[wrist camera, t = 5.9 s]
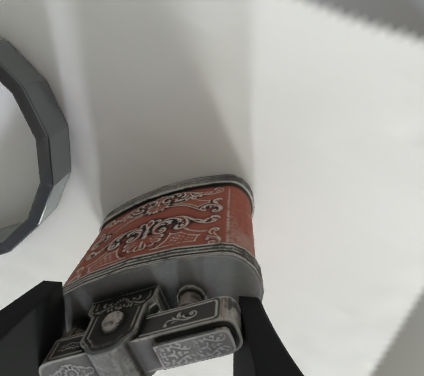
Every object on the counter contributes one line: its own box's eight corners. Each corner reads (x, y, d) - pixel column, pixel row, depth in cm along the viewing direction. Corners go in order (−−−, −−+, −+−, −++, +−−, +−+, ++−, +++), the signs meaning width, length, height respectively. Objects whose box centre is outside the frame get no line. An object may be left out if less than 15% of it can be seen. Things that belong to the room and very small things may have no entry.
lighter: (120, 263, 21) (29, 440, 12) (93, 209, 20) (-31, 359, 11) (262, 221, 20) (286, 385, 10) (241, 161, 19) (246, 284, 9)
